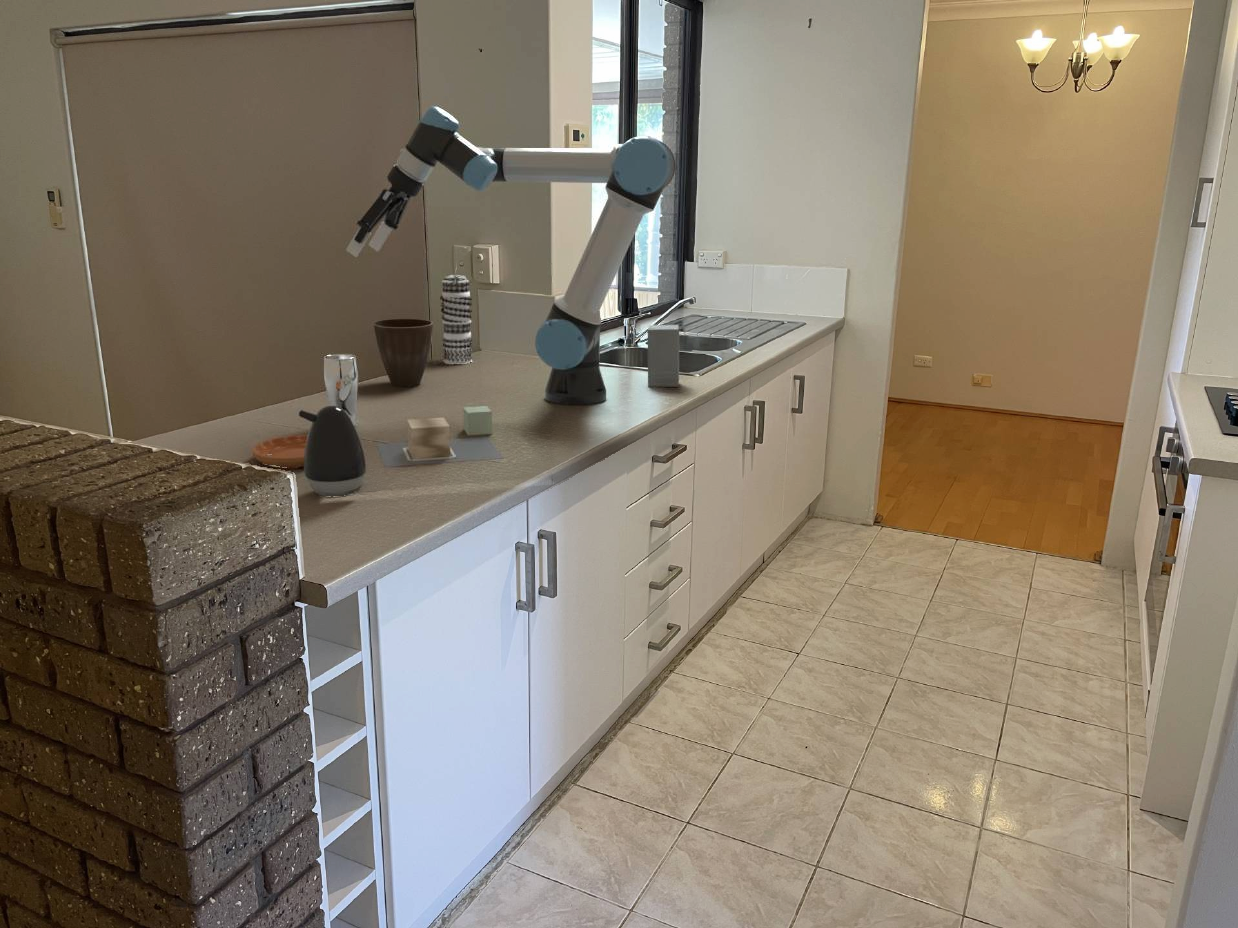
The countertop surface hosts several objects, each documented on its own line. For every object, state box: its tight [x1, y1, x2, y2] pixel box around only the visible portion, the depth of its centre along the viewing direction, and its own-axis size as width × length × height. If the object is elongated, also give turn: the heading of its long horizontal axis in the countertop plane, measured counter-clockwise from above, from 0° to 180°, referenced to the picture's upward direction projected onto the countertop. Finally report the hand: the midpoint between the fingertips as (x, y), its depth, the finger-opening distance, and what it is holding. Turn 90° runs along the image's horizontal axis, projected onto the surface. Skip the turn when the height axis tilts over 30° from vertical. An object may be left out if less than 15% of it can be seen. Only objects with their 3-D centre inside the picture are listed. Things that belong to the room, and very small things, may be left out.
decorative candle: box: [439, 274, 474, 365], centre depth 275 cm, size 9×9×25 cm
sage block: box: [462, 405, 493, 436], centre depth 198 cm, size 5×5×6 cm
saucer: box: [251, 434, 308, 469], centre depth 181 cm, size 16×16×3 cm
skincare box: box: [647, 324, 680, 388], centre depth 250 cm, size 8×7×16 cm
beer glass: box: [323, 353, 360, 428], centre depth 204 cm, size 7×7×15 cm
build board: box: [376, 436, 504, 468], centre depth 184 cm, size 22×16×1 cm
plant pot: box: [372, 318, 434, 387], centre depth 246 cm, size 15×15×16 cm
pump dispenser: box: [298, 405, 367, 498], centre depth 160 cm, size 10×10×15 cm
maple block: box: [406, 417, 451, 459], centre depth 181 cm, size 7×7×6 cm
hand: (362, 251), depth 219 cm, fingers open, 13 cm apart
